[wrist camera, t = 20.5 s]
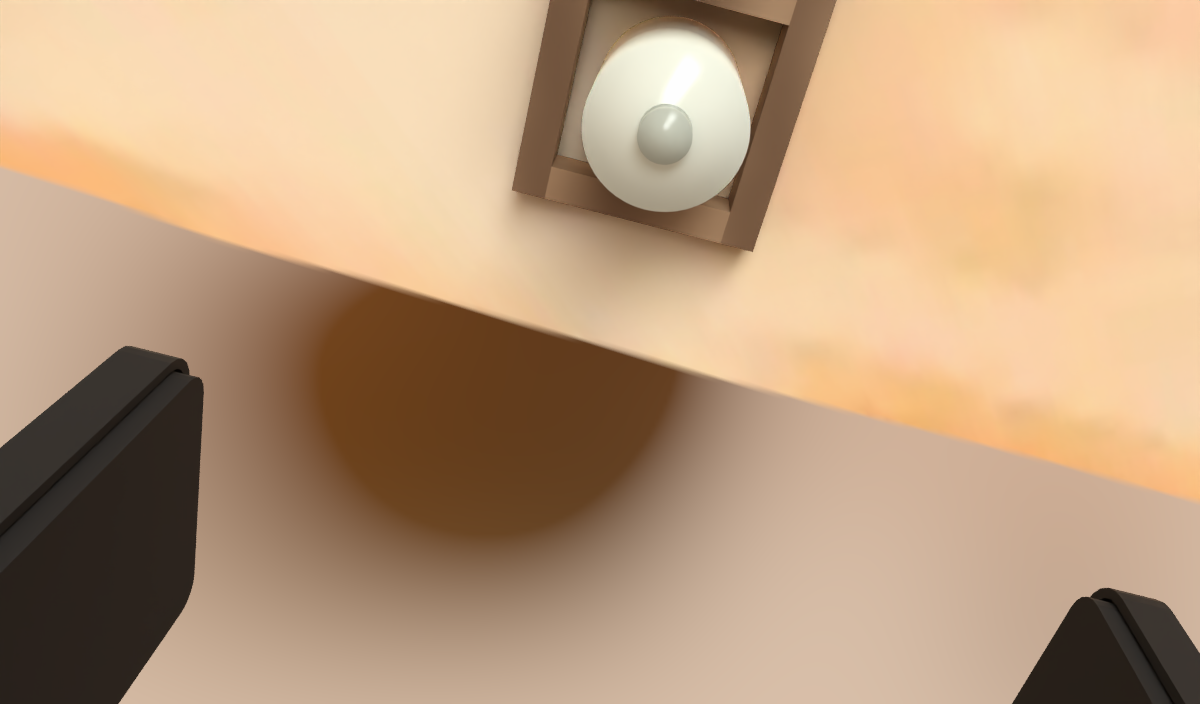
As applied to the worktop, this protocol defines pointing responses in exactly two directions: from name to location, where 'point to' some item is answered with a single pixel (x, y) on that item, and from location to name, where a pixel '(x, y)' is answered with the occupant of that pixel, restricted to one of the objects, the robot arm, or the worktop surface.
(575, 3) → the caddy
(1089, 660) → the robot arm
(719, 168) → the sugar pot
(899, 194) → the worktop surface
